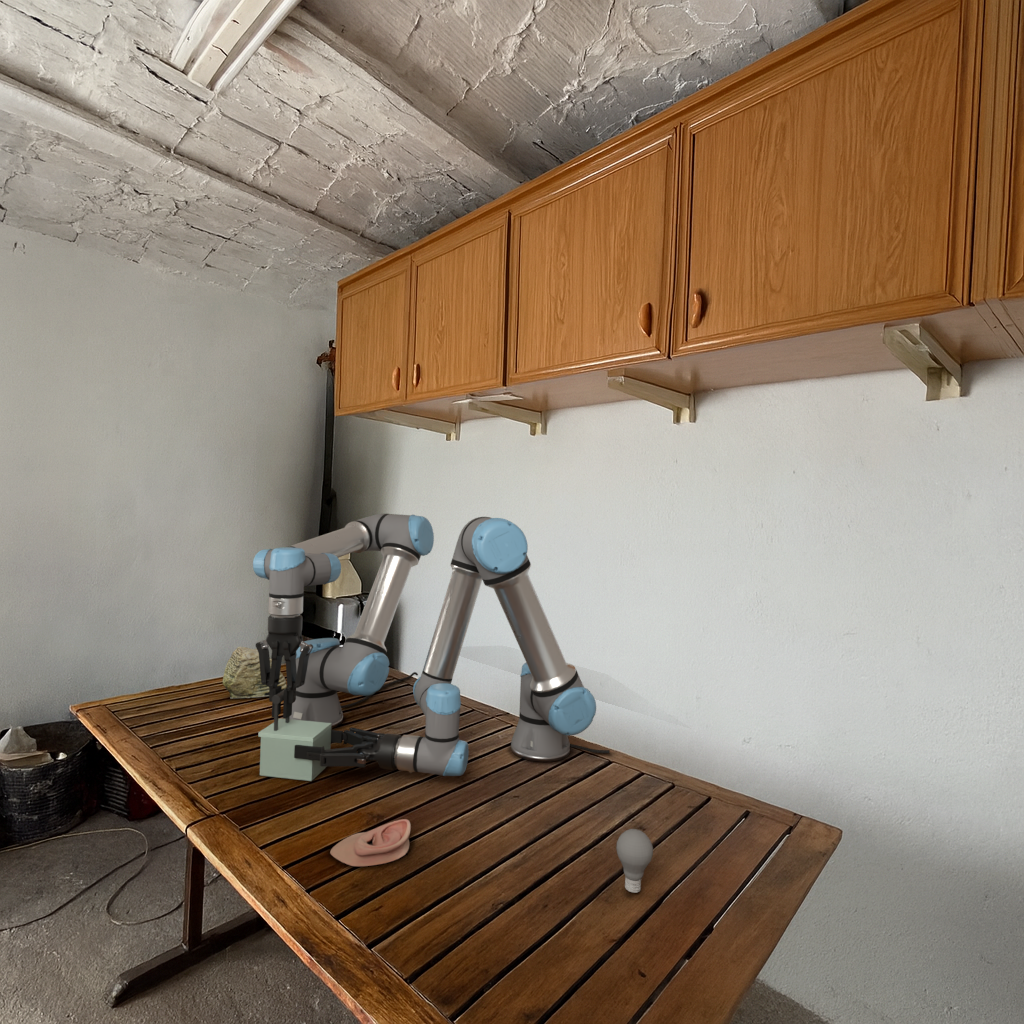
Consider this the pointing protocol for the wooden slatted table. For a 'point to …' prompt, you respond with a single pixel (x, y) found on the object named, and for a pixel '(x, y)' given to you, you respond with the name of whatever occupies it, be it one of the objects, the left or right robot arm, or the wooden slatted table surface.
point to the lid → (292, 726)
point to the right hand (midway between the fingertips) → (305, 742)
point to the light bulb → (634, 857)
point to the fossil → (246, 675)
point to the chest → (290, 758)
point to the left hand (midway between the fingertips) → (281, 715)
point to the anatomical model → (374, 845)
